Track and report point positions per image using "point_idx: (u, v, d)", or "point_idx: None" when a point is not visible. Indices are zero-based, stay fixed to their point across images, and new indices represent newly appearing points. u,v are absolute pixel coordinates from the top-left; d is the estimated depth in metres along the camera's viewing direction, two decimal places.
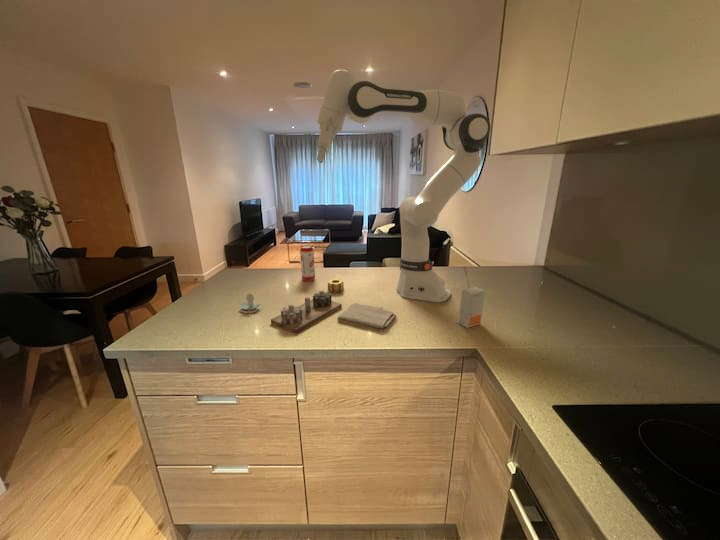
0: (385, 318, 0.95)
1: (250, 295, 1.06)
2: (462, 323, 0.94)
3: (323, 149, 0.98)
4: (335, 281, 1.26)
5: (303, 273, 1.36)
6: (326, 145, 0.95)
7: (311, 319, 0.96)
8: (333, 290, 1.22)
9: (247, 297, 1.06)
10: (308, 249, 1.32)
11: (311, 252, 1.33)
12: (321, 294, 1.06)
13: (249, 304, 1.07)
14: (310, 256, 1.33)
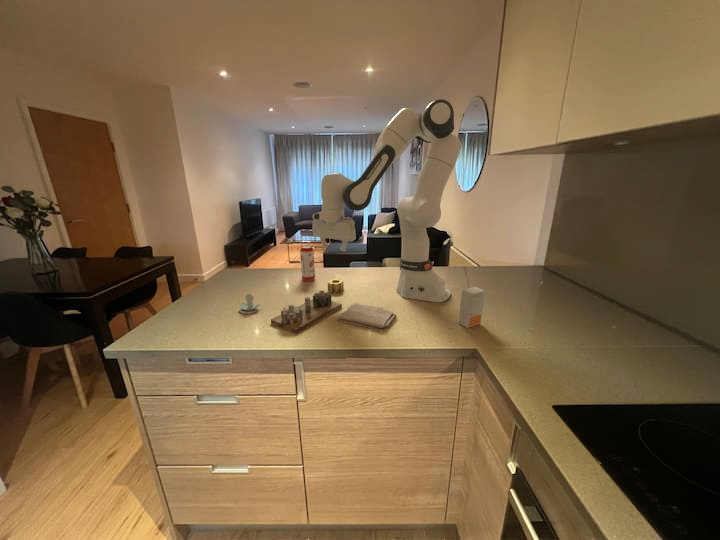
0: (385, 318, 0.96)
1: (249, 295, 1.06)
2: (462, 323, 0.94)
3: (347, 241, 1.15)
4: (335, 281, 1.26)
5: (303, 273, 1.36)
6: (354, 239, 1.14)
7: (311, 319, 0.96)
8: (333, 290, 1.22)
9: (246, 297, 1.06)
10: (308, 249, 1.32)
11: (311, 252, 1.33)
12: (321, 294, 1.06)
13: (248, 304, 1.06)
14: (310, 256, 1.33)
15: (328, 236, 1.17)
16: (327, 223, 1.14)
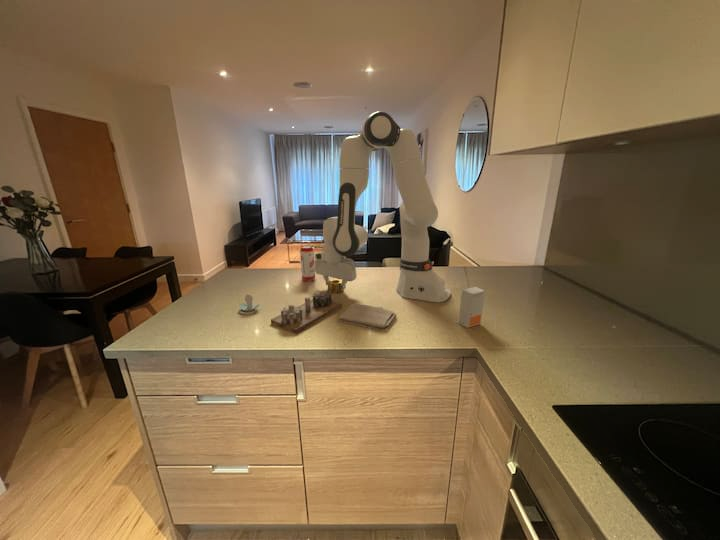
0: (386, 318, 0.96)
1: (249, 296, 1.05)
2: (462, 323, 0.94)
3: None
4: (335, 281, 1.26)
5: (303, 273, 1.36)
6: (355, 278, 1.19)
7: (311, 319, 0.96)
8: (333, 290, 1.22)
9: (246, 298, 1.05)
10: (308, 249, 1.32)
11: (311, 252, 1.33)
12: (321, 294, 1.06)
13: (248, 305, 1.06)
14: (310, 256, 1.33)
15: (330, 275, 1.22)
16: (329, 263, 1.19)
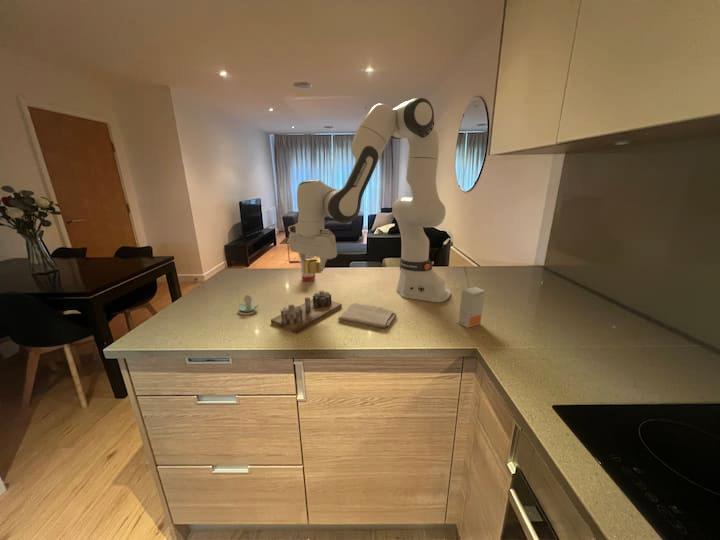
0: (386, 317, 0.96)
1: (248, 296, 1.05)
2: (462, 323, 0.94)
3: (326, 258, 1.00)
4: (313, 260, 1.05)
5: (303, 273, 1.36)
6: (335, 256, 0.98)
7: (311, 319, 0.96)
8: (309, 270, 1.02)
9: (245, 298, 1.05)
10: None
11: None
12: (321, 294, 1.06)
13: (247, 306, 1.05)
14: (310, 256, 1.33)
15: (306, 252, 1.02)
16: (304, 237, 0.99)
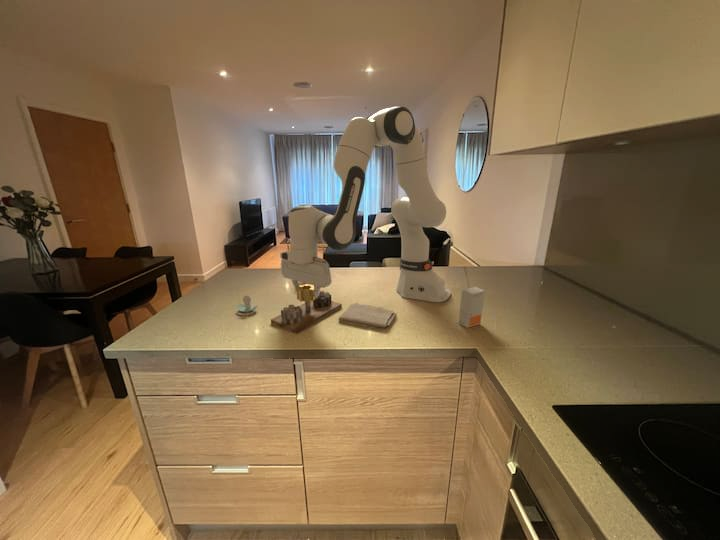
0: (386, 317, 0.96)
1: (247, 297, 1.04)
2: (462, 323, 0.94)
3: None
4: (306, 287, 1.01)
5: None
6: None
7: (311, 319, 0.96)
8: (303, 298, 0.98)
9: (244, 299, 1.05)
10: None
11: None
12: (321, 294, 1.06)
13: (246, 306, 1.05)
14: None
15: (299, 279, 0.98)
16: (297, 265, 0.95)
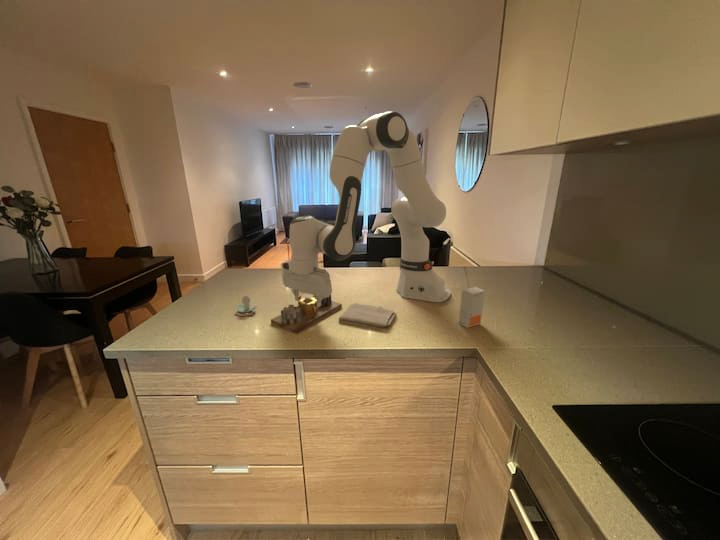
0: (387, 317, 0.96)
1: (246, 297, 1.04)
2: (462, 323, 0.94)
3: None
4: None
5: None
6: (330, 294, 0.95)
7: (311, 319, 0.96)
8: (304, 312, 0.99)
9: (243, 299, 1.04)
10: None
11: None
12: None
13: (245, 306, 1.05)
14: None
15: (300, 289, 0.99)
16: (298, 275, 0.96)
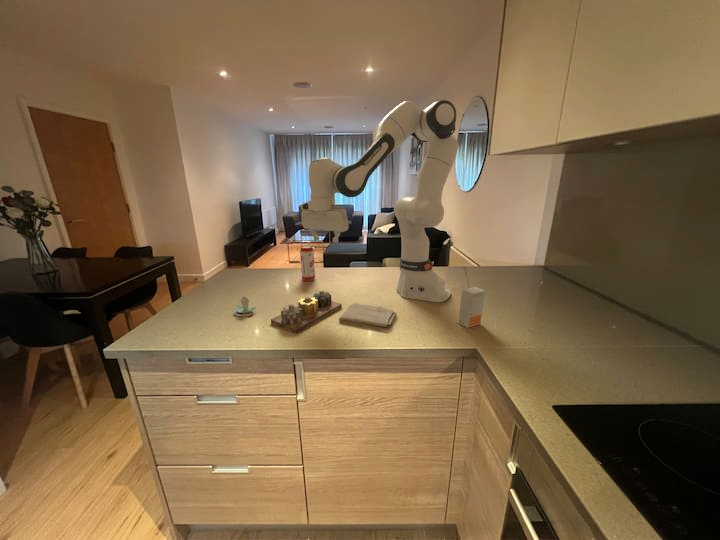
0: (387, 317, 0.96)
1: (245, 298, 1.03)
2: (462, 323, 0.94)
3: (339, 232, 1.07)
4: None
5: (303, 273, 1.36)
6: (347, 229, 1.06)
7: (311, 319, 0.96)
8: (304, 312, 0.99)
9: (242, 300, 1.04)
10: (308, 249, 1.32)
11: (311, 252, 1.33)
12: (321, 294, 1.06)
13: (244, 307, 1.04)
14: (310, 256, 1.33)
15: (319, 227, 1.09)
16: (317, 213, 1.06)
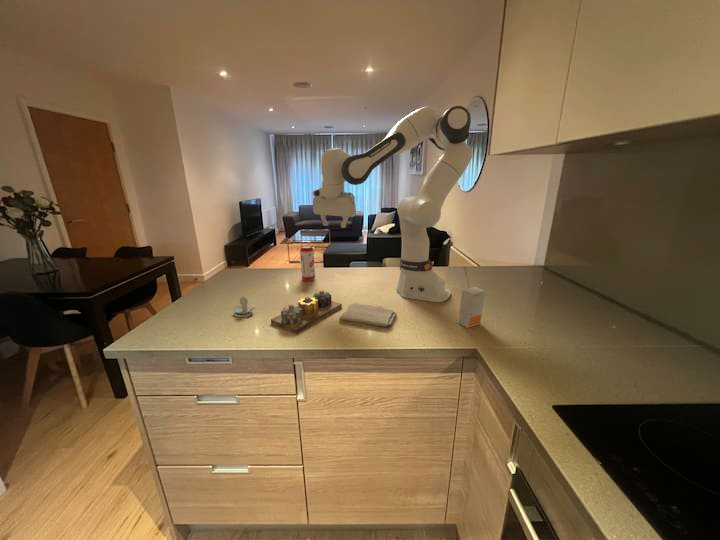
0: (387, 316, 0.97)
1: (244, 298, 1.03)
2: (462, 323, 0.94)
3: (347, 217, 1.16)
4: None
5: (303, 273, 1.36)
6: (354, 215, 1.15)
7: (311, 319, 0.96)
8: (304, 312, 0.99)
9: (241, 300, 1.03)
10: (308, 249, 1.32)
11: (311, 252, 1.33)
12: (321, 294, 1.06)
13: (243, 308, 1.04)
14: (310, 256, 1.33)
15: (328, 213, 1.18)
16: (327, 199, 1.15)
